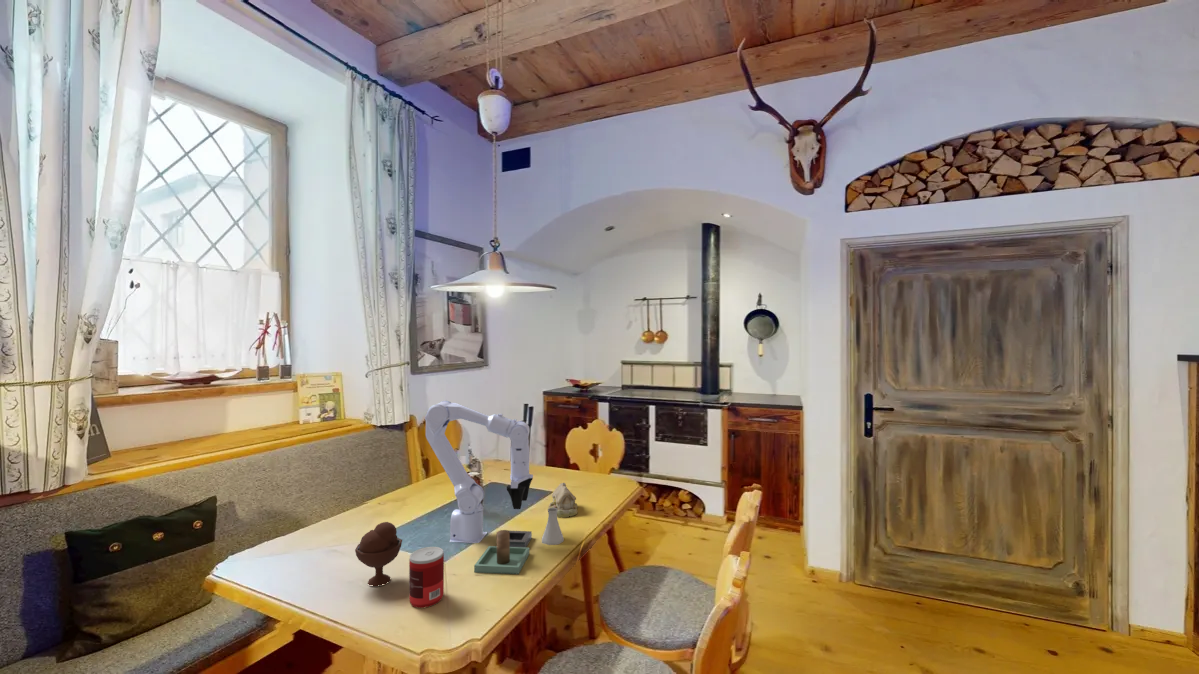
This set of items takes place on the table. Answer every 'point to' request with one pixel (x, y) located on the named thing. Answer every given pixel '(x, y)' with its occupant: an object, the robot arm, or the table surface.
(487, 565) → the tray
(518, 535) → the square metal dish
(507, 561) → the pin
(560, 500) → the ceramic model
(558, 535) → the flask
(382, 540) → the ice cream bowl
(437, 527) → the table surface
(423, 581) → the canned food
